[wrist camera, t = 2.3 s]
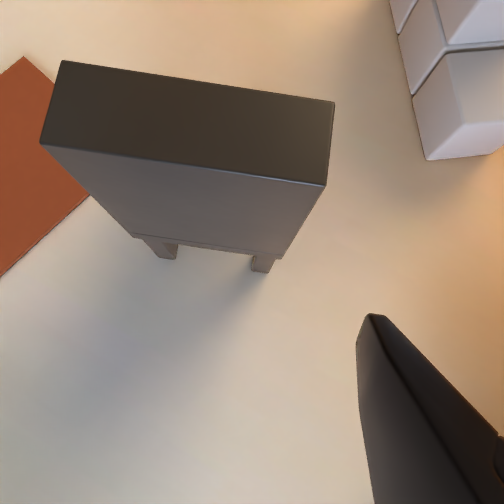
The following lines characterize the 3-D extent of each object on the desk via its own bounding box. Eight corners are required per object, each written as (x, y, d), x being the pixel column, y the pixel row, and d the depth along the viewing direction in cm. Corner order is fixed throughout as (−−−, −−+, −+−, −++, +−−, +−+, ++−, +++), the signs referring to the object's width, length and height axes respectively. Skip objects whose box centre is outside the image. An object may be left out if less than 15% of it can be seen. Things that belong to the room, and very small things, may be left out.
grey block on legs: (271, 277, 21) (326, 186, 8) (154, 259, 21) (36, 142, 8) (285, 168, 22) (352, -49, 10) (175, 151, 22) (101, -89, 10)
